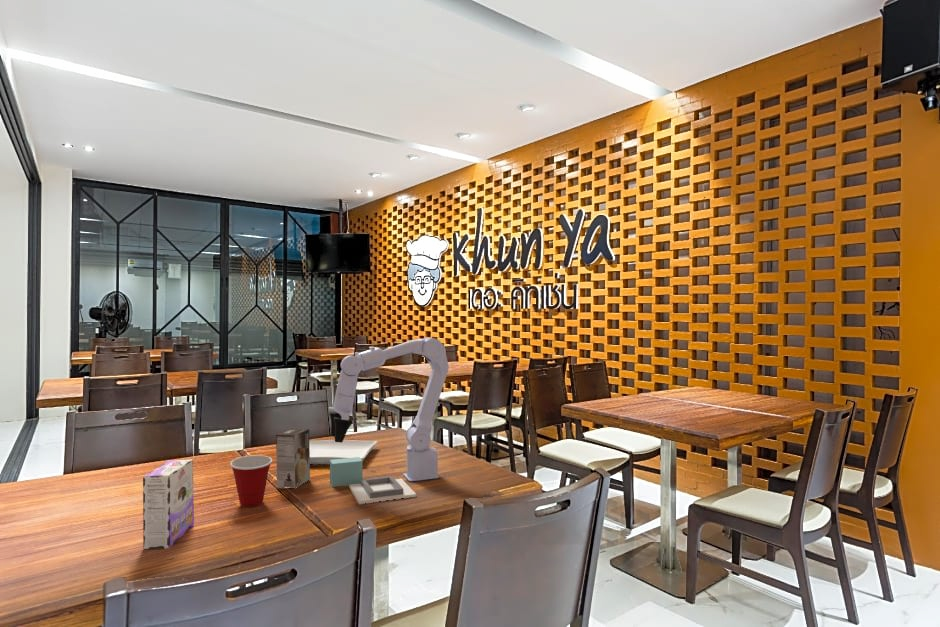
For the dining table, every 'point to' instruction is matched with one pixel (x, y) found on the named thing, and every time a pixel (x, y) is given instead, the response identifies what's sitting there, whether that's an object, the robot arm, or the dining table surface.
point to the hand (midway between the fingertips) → (336, 439)
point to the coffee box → (292, 458)
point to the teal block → (345, 471)
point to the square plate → (338, 450)
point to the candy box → (167, 504)
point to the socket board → (381, 490)
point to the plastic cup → (251, 478)
